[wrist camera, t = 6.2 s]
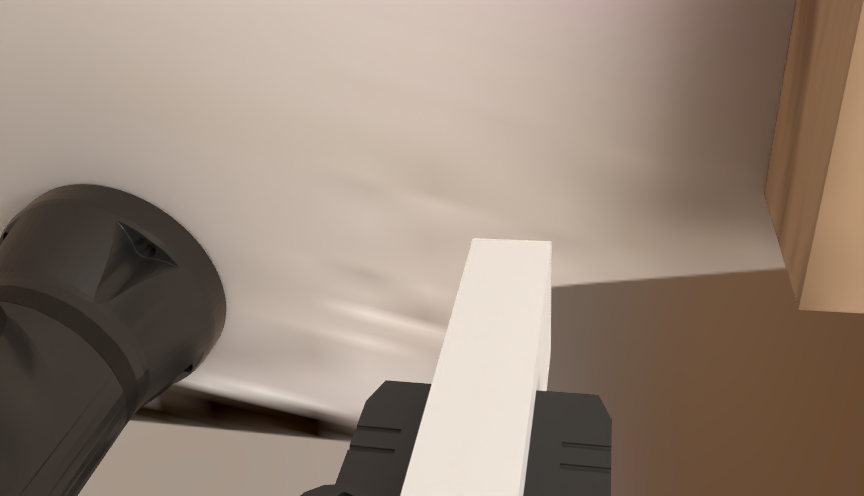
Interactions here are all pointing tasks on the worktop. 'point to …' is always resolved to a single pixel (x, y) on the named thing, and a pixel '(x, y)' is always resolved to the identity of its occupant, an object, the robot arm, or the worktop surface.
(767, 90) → the worktop surface
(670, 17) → the worktop surface
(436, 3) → the worktop surface
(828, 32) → the socket block
